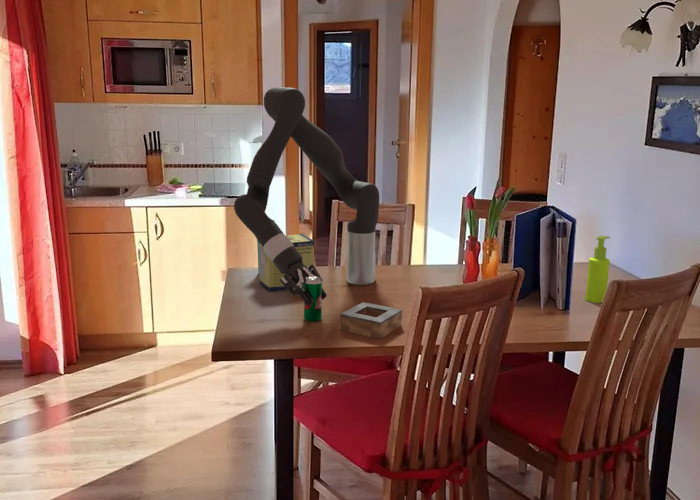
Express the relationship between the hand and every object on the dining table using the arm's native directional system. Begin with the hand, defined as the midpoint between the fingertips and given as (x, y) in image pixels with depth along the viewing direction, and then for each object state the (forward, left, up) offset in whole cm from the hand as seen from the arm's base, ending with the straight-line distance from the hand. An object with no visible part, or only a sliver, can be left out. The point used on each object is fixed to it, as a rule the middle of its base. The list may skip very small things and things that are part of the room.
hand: (318, 300), depth 188 cm
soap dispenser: (-63, +61, -6) cm, 88 cm away
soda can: (0, -2, -6) cm, 6 cm away
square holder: (-3, +15, -6) cm, 17 cm away
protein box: (-23, -28, -6) cm, 37 cm away
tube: (-30, -42, -6) cm, 52 cm away
